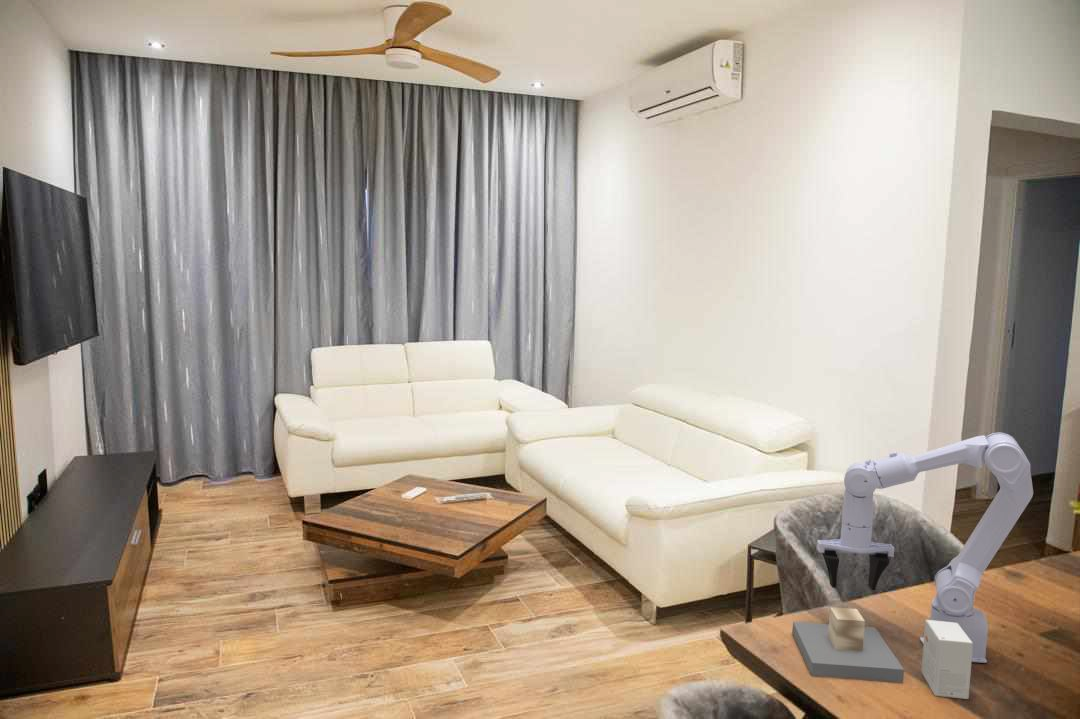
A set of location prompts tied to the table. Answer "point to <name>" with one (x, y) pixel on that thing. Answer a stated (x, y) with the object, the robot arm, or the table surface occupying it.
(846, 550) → the robot arm
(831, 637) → the maple block
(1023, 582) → the table surface
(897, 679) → the slate plinth
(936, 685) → the small box
